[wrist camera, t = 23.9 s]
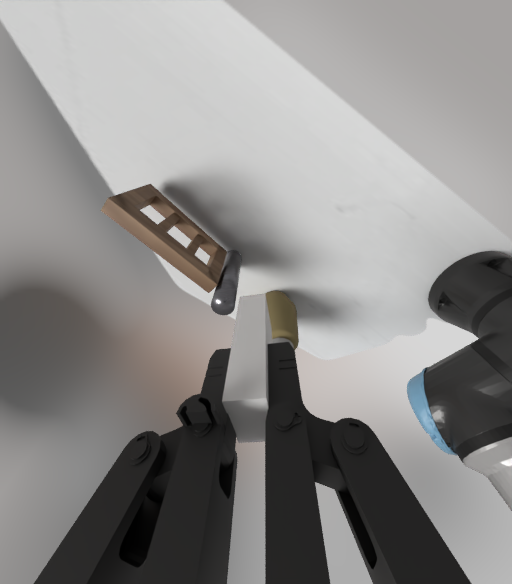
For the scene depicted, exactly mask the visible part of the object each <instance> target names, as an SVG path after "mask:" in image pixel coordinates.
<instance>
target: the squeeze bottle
mask: <svg viewBox="0 0 512 584" xmlns="http://www.w3.org/2000/svg"><path fill="white" fill-rule="evenodd" d="M265 295H266V300H267V306H268V312H269V317H270V323H271V329H272V343H281V342H289V343H290V344H291V346H292V347H293V348H294V350H295V349H296V348H297V346H298V342H299V340H298V326H297V311H296V308H295V305H294V303H293V302H292V301H291V300H290V299H289V298H288V297H287V296H286V295H285V294H284V293H282V292H280V291H271V292H267V293H266V294H265Z"/></svg>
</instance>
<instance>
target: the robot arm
mask: <svg viewBox="0 0 512 584" xmlns="http://www.w3.org/2000/svg"><path fill="white" fill-rule="evenodd" d="M428 301H429V306H430V308H431V309H432V311H433V312H434V313H436V314H437V315H438V316H439V317H440V318H441V319H443V320H444V321H446V322H448V323H451V324H453V325H455V326H458V327H460V328H462V329H464V330H467V331H469V332H471V333H473V334H474V335H476V336H477V337H478V338H479V339H478V340H477V341H475V342H473V343H471V344H470V345H468V346H466V347H464V348H463V349H461V350H459V351H457V352H455V353H454V354H452V355H450V356H448V357H446V358H445V359H443V360H441V361H439V362H437V363H436V364H434V365H432V366H431V367H427V368H425V369H423V371H422V372H421V373H420V374H418V375H416V376H415V377H413V378H412V379H410V381H409V383H408V385H407V394H408V398H409V401H410V404H411V406H412V409H413V410H414V413H415V415H416V417H417V418H418V420H419V422H420V423H421V425H422V427H423V428H424V430H425V431H426V432H427V433H429V434H430V437H431V439H432V440H433V441H434V443H435V444H436V445H437V446H438V447H439V448H440V449H441V450H443V451H444V452H446V453H448V454H453V455H458V456H459V458H460V459H461V461H462V462H463V463H464V465H465V466H467V467H469V468H471V469H473V470H475V471H477V472H479V473H481V474H483V475H484V476H486V477H487V478H488V479H489V480H490V482H491V483H492V485H493V486H494V487H495V489H496V490H497V491H498V493H499V494H500V496H501V497H502V498H503V499H504V501H505V502H506V504H507V505H508V506H509V508H510V509H511V511H512V257H511V256H508V255H506V254H504V253H501V252H494V251H488V252H481V253H476V254H473V255H470V256H468V257H465V258H463V259H461V260H459V261H457V262H456V263H454V264H453V265H451V266H450V267H449V268H447V269H446V270H445V271H444V272H443V273H442V274H441V275H440V276H439V277H438V278H437V279H436V281H435V282H434V284H433V285H432V287H431V290H430V293H429V298H428ZM176 414H177V415H178V417H179V419H180V420H181V422H182V424H183V426H182V427H180V428H178V429H176V430H173V431H171V432H169V433H166V434H164V435H161V436H159V435H158V434H157V433H155V432H153V431H146V432H143V433H141V434H139V435H137V436H136V437H135V438H133V439H132V440H131V441H130V442H129V443H128V445H127V446H126V447H125V448H124V450H123V451H122V453H121V454H120V456H119V457H118V459H117V460H116V462H115V463H114V465H113V466H112V468H111V469H110V471H109V472H108V474H107V475H106V477H105V478H104V480H103V481H102V483H101V484H100V486H99V487H98V489H97V490H96V492H95V493H94V494H93V496H92V498H91V499H90V501H89V502H88V504H87V505H86V507H85V508H84V510H83V511H82V512H81V514H80V515H79V517H78V519H77V520H76V521H75V523H74V524H73V526H72V527H71V529H70V530H69V532H68V533H67V535H66V536H65V538H64V539H63V541H62V542H61V544H60V545H59V547H58V548H57V550H56V551H55V553H54V554H53V556H52V557H51V559H50V560H49V562H48V563H47V565H46V566H45V568H44V569H43V571H42V572H41V574H40V575H39V577H38V578H37V580H36V581H35V583H34V584H227V574H228V562H229V551H230V539H231V527H232V516H233V505H234V492H235V481H236V469H237V453H236V451H235V443H236V437H237V440H238V442H239V443H242V442H262V441H265V444H266V445H265V452H266V453H265V454H266V456H265V459H266V460H265V461H266V462H265V463H266V464H265V467H266V468H265V473H266V475H265V480H266V481H265V486H266V487H265V488H266V489H265V491H266V493H265V494H266V496H265V497H266V584H330V579H329V572H328V566H327V559H326V553H325V546H324V541H323V540H324V539H323V533H322V526H321V520H320V513H319V506H318V500H317V493H316V487H315V482H317V483H320V484H322V485H325V486H327V487H330V488H332V489H335V491H336V494H337V496H338V499H339V501H340V504H341V506H342V508H343V511H344V513H345V516H346V518H347V521H348V523H349V526H350V528H351V531H352V533H353V535H354V538H355V540H356V543H357V545H358V548H359V550H360V552H361V555H362V557H363V560H364V562H365V565H366V567H367V569H368V572H369V575H370V577H371V579H372V582H373V584H471V583H470V581H469V579H468V578H467V576H466V575H465V574H464V571H463V570H462V568H461V567H460V565H459V564H458V562H457V561H456V559H455V557H454V556H453V555H452V553H451V551H450V550H449V548H448V547H447V545H446V543H445V542H444V541H443V539H442V537H441V536H440V534H439V533H438V531H437V530H436V528H435V527H434V525H433V523H432V522H431V520H430V519H429V517H428V515H427V514H426V513H425V511H424V509H423V508H422V506H421V505H420V503H419V502H418V500H417V498H416V497H415V495H414V494H413V492H412V491H411V489H410V488H409V486H408V484H407V483H406V482H405V480H404V478H403V477H402V475H401V474H400V472H399V470H398V469H397V467H396V466H395V464H394V463H393V461H392V460H391V458H390V457H389V455H388V453H387V452H386V451H385V449H384V447H383V446H382V444H381V443H380V441H379V439H378V438H377V436H376V435H375V433H374V432H373V431H372V430H371V429H370V428H369V426H367V425H366V424H365V423H363V422H361V421H360V420H357V419H353V418H344V419H341V420H339V421H337V422H336V423H334V422H330V421H326V420H323V419H320V418H317V417H315V416H314V415H312V414H311V413H310V412H309V411H308V410H307V409H306V408H305V406H304V404H303V401H302V397H301V390H300V384H299V377H298V371H297V364H296V358H295V351H294V348H293V347H292V346H291V344H290V343H289V342H281V343H272V329H271V323H270V317H269V312H268V306H267V300H266V295H265V294H258V295H250V296H243V297H240V299H239V305H238V311H237V317H236V322H235V328H234V334H233V340H232V346H231V348H229V349H219V350H216V351H215V352H214V354H213V355H212V357H211V358H210V360H209V364H208V370H207V372H206V377H205V380H204V383H203V387H202V391H201V394H197V395H193V396H192V397H190V398H188V399H186V400H185V401H184V402H183V403H182V404H181V406H180V407H179V410H178V411H177V413H176Z"/></svg>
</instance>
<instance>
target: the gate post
mask: <svg viewBox="0 0 512 584" xmlns="http://www.w3.org/2000/svg"><path fill="white" fill-rule="evenodd" d="M241 260H242V257H241V255H240V253H239V252H237V251H234V250H232V251H229V252H228V253H227V255H226V258H225V261H224V265H223V268H222V271H221V275H220V278H219V282H218V285H217V286H216V289H215V293H214V296H213V299H212V302H211V307H212V309H213V311H214V312H215V313H217V314H220V315H228V314H230V313H232V312H233V310H234V307H235V301H236V294H237V287H238V280H239V273H240V267H241Z"/></svg>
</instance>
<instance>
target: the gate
mask: <svg viewBox="0 0 512 584" xmlns="http://www.w3.org/2000/svg"><path fill="white" fill-rule="evenodd" d="M148 205H151V206H152V207H153V208H154V209H155V210H156V211H158V212H159V213H160V214H161V215H162V216H164V217H165V218H166V219H165V220H163V221H162V222H161V223H159V224H158V225H157V224H156V223H155V222H153V221H152V220H151V219H150V218H148V217H147V216H146V215H145V214H144V213H142V212H141V211H140V209H142V208H144V207H146V206H148ZM101 211H102V212H104V213H105V214H106V215H107V216H109V217H110V218H111V219H112V220H114V221H115V222H116V223H118V224H119V225H120V226H122V227H123V228H124V229H126V230H127V231H128V232H129V233H131V234H132V235H133V236H135V237H136V238H137V239H139V240H140V241H141V242H143V243H144V244H145V245H147V246H148V247H149V248H150V249H152V250H153V251H154V252H156V253H157V254H158V255H160V256H161V257H162V258H163V259H165V260H166V261H167V262H169V263H170V264H171V265H173V266H174V267H175V268H177V269H178V270H179V271H180V272H182V273H183V274H184V275H186V276H187V277H188V278H190V279H191V280H192V281H194V282H195V283H196V284H197V285H199V286H200V287H201V288H203V289H204V290H205V291H207V292H208V293H209V292H211V291H212V290H213V289H214V288H215V287H216V286H217V285H218V282H219V278H220V275H221V271H222V268H223V265H224V261H225V258H226V255H227V251H226V250H225V249H224V248H222V247H221V246H220V245H219V244H218V243H216V242H215V241H214V240H213V239H212V238H211V237H210V236H208V235H207V234H206V233H205V232H204V231H203V230H202V229H201V228H199V227H198V226H197V225H196V224H195V223H194V222H193V221H192V220H190V219H189V218H188V217H187V216H186V215H185V214H184V213H183V212H181V211H180V210H179V209H178V208H177V207H176V206H175V205H173V204H172V203H171V202H170V201H169V200H168V199H167V198H166V197H164V196H163V195H162V194H161V193H160V192H159V191H158V190H157V189H156V188H155V187H153V186H152V185H151V184H149V185H146V186H143V187H140V188H137V189H133V190H130V191H127V192H124V193H121V194H118V195H115V196H113V197H109V198H108V199H107V201H106V202H105V204H104V206H103V207H102V209H101ZM173 226H175V227H177V228H178V229H179V230H180V231H181V232H182V233H184V234H185V235H186V236H187V237H188V238H190V239H191V240H192V241H191V243H190V244H189V245H188V247H187V248H185V247H184V246H183V245H181V244H180V243H179V242H178V241H177V240H175V239H174V238H173V237H172V236H170V235H169V234H168V233H167V232H168V231H169V230H170V229H171V228H172V227H173ZM199 247H200V248H201V249H203V250H204V251H205V252H206V253H207V254H208V255H210V259H209V261H208V263H207V265H206V264H205V263H203V262H202V261H201V260H200V259H198V258H197V257H196V256H195V253H196V251H197V250H198V248H199Z"/></svg>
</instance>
